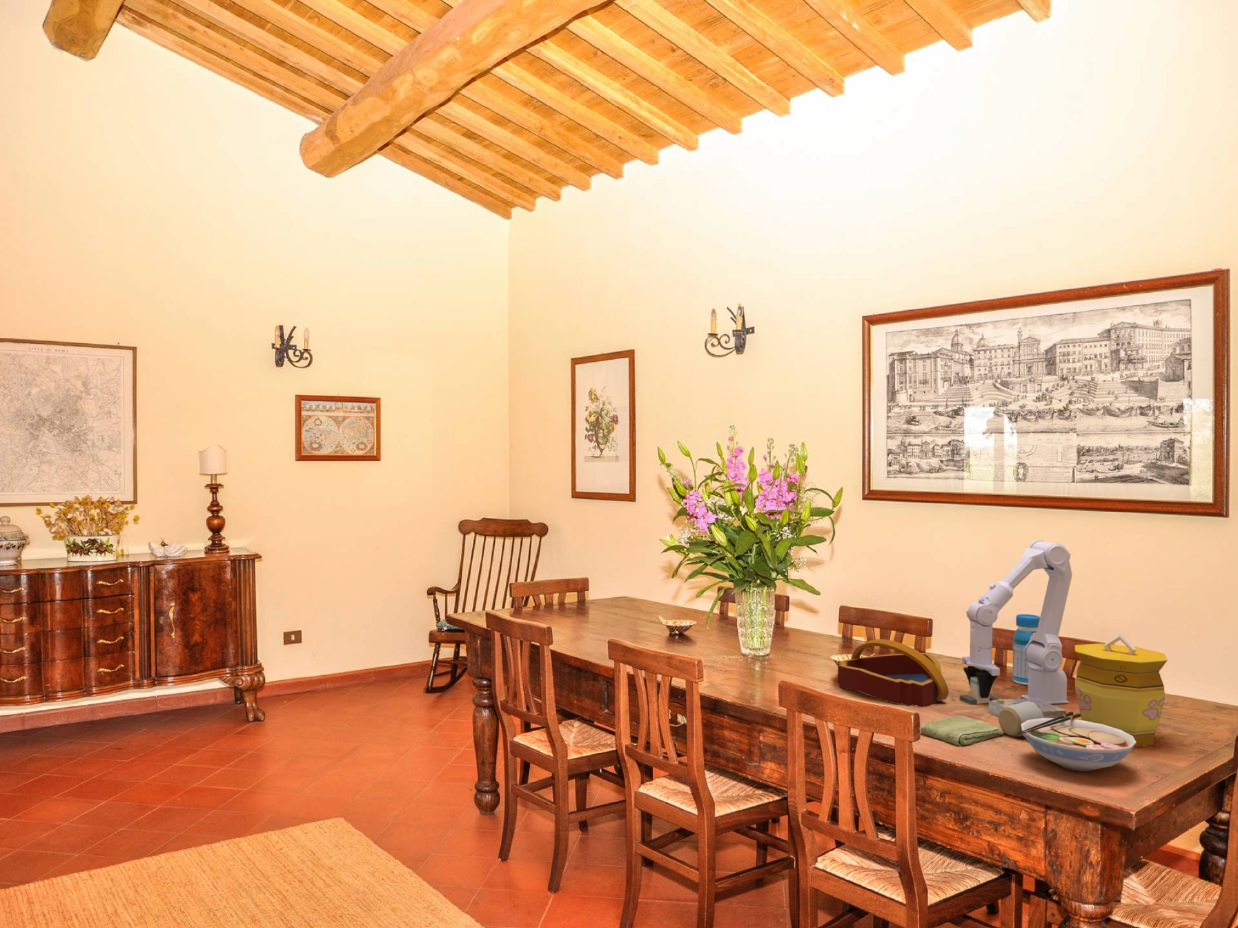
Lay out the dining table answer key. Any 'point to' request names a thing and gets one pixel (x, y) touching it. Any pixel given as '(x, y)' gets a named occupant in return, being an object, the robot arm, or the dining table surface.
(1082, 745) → the ramen bowl
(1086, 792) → the dining table surface
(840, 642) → the dining table surface
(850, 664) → the decorative basket
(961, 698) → the pair of dark blocks
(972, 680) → the small white carton
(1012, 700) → the port
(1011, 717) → the grey cylinder
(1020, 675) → the beverage bottle
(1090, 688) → the container
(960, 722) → the washcloth
